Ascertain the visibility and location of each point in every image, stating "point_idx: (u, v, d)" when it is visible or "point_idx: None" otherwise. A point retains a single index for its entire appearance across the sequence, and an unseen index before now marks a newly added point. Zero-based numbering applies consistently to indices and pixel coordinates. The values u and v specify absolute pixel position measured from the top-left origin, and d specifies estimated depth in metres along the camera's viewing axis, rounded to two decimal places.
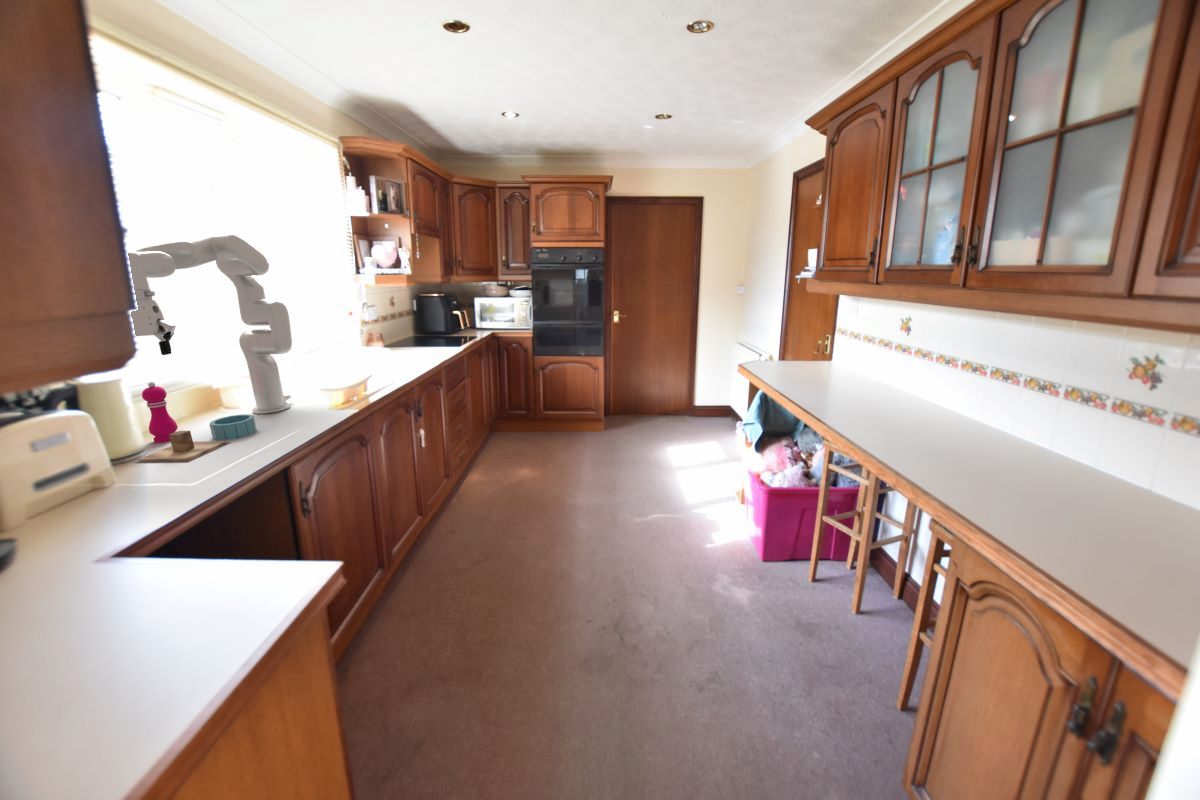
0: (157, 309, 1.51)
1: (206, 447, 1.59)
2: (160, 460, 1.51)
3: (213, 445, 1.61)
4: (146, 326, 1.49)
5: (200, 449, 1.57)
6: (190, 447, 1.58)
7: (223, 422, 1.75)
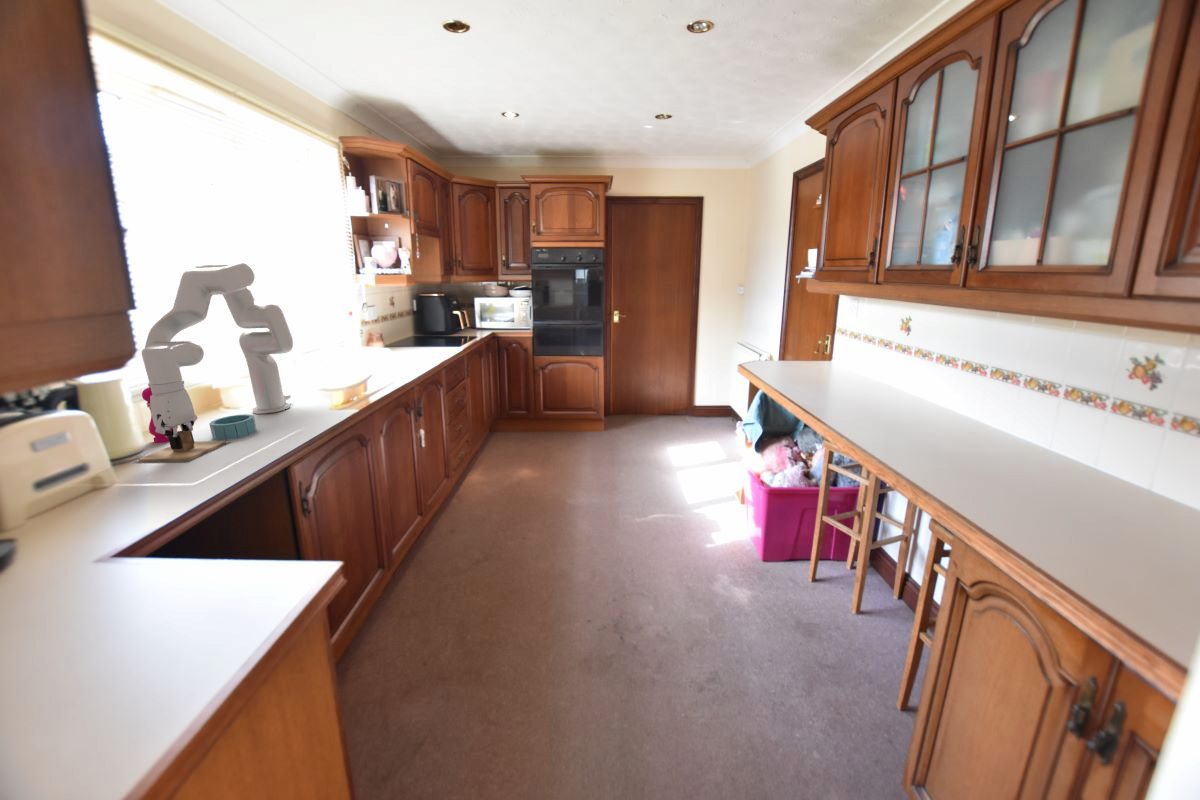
0: None
1: (206, 447, 1.59)
2: (160, 460, 1.51)
3: (213, 445, 1.61)
4: (189, 412, 1.57)
5: (200, 449, 1.57)
6: (190, 447, 1.58)
7: (223, 422, 1.75)
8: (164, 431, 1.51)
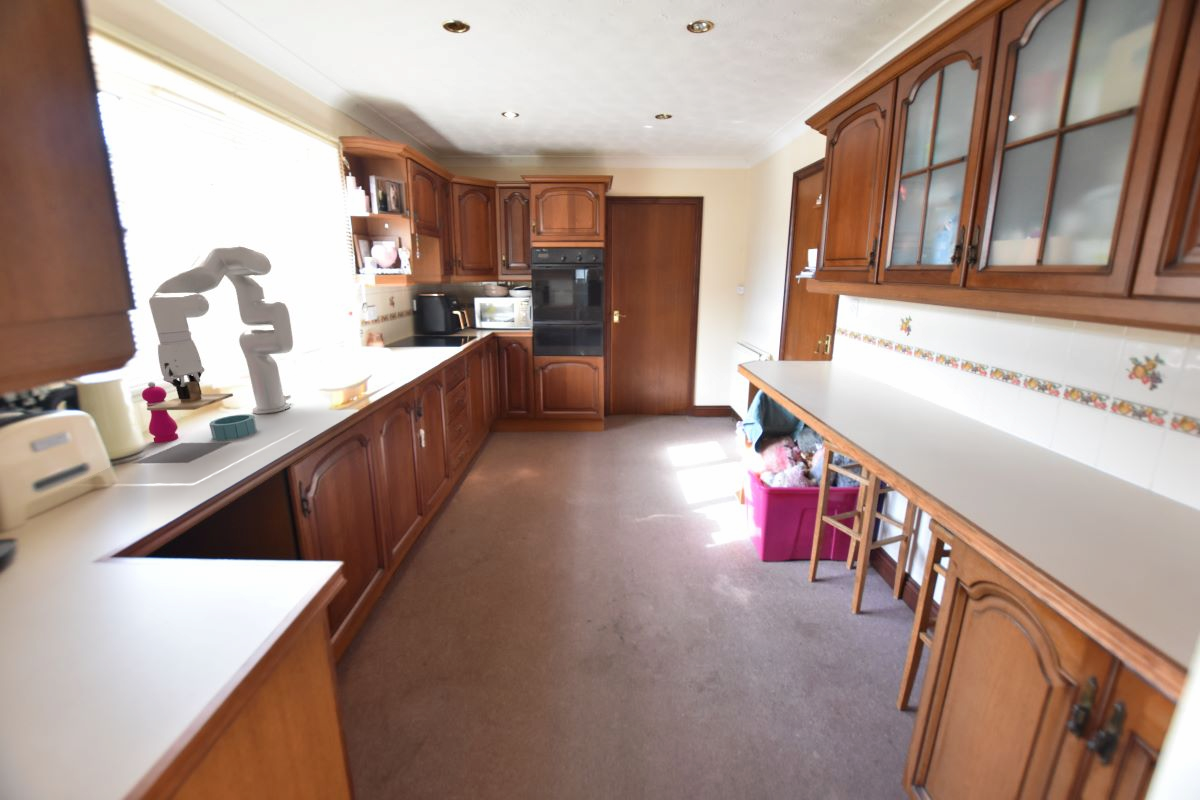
0: None
1: (213, 398, 1.61)
2: (168, 408, 1.53)
3: (220, 396, 1.63)
4: (196, 363, 1.59)
5: (207, 400, 1.59)
6: (197, 398, 1.60)
7: (223, 422, 1.75)
8: (172, 380, 1.53)
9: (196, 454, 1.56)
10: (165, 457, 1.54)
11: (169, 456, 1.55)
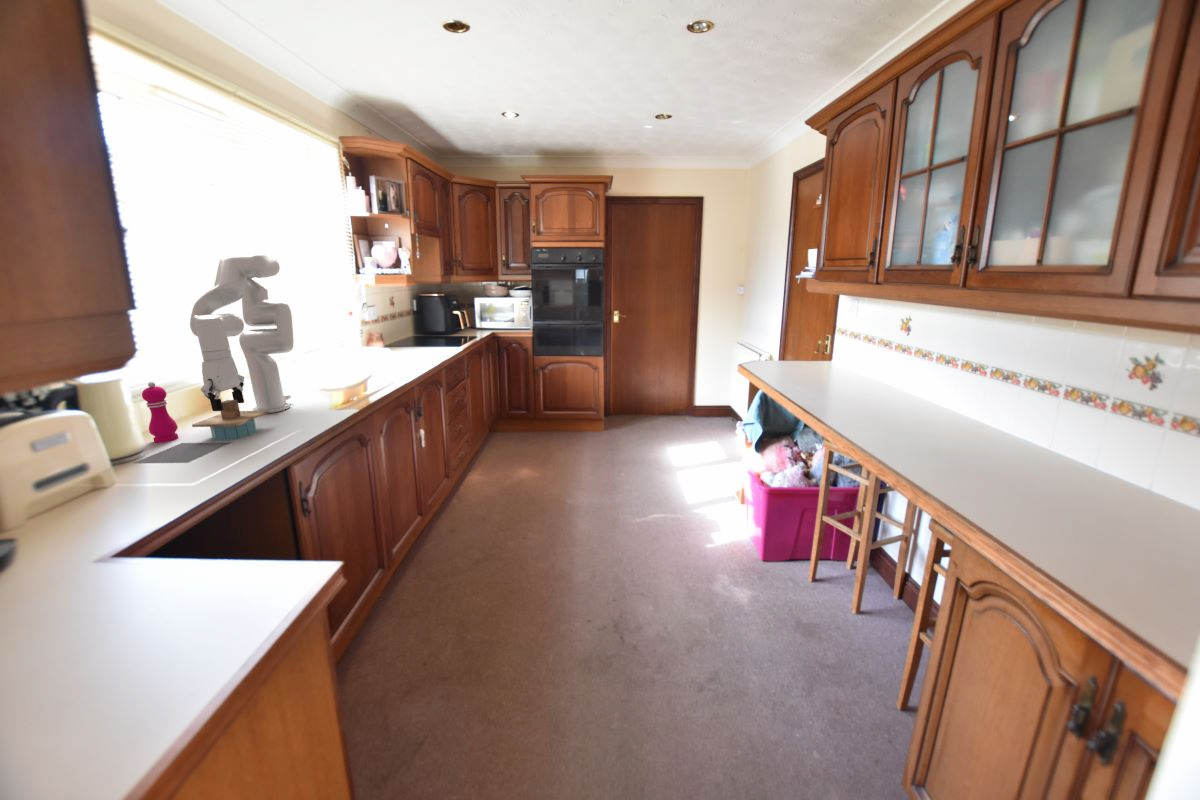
0: None
1: (251, 415, 1.74)
2: (212, 425, 1.66)
3: (257, 413, 1.76)
4: (235, 379, 1.72)
5: (246, 417, 1.72)
6: (237, 415, 1.73)
7: None
8: (208, 392, 1.63)
9: (196, 454, 1.56)
10: (165, 457, 1.54)
11: (169, 456, 1.55)
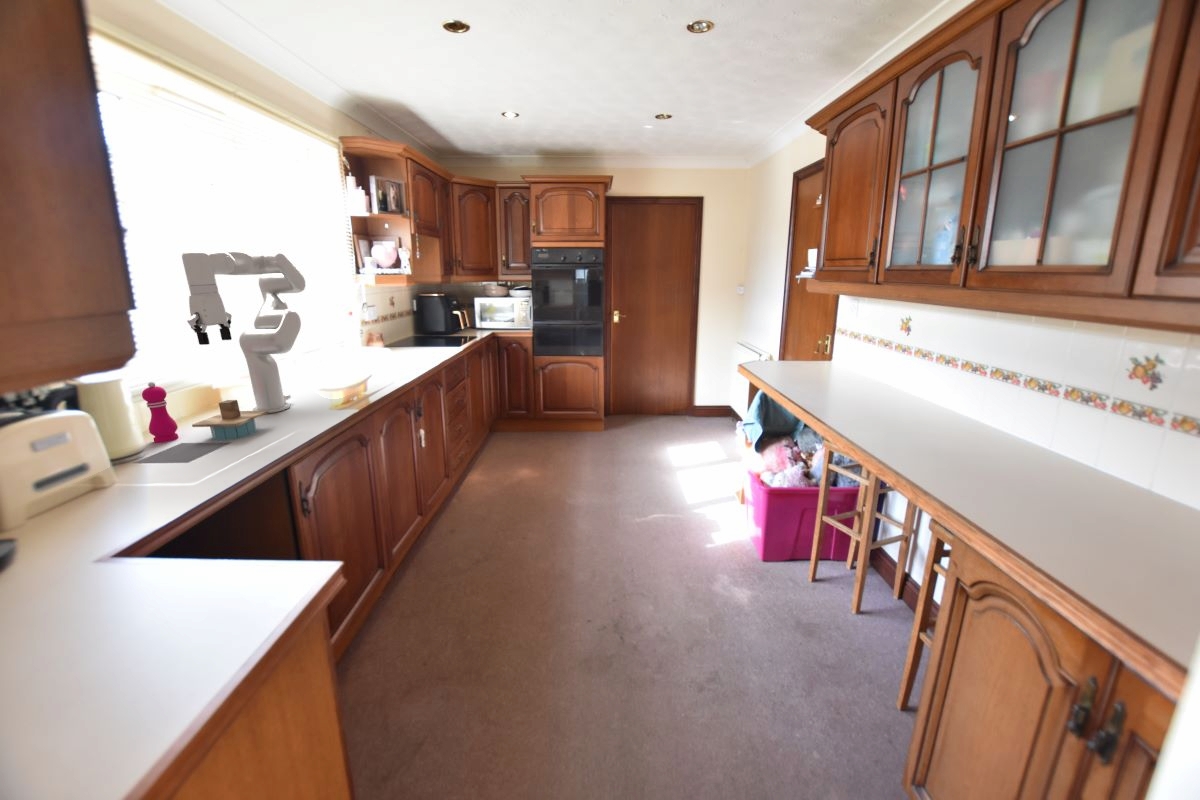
0: None
1: (251, 415, 1.74)
2: (212, 425, 1.66)
3: (257, 413, 1.76)
4: (222, 315, 1.76)
5: (246, 417, 1.72)
6: (237, 415, 1.73)
7: None
8: (194, 324, 1.66)
9: (196, 454, 1.56)
10: (165, 457, 1.54)
11: (169, 456, 1.55)
